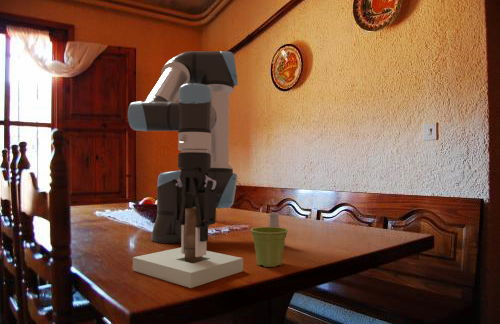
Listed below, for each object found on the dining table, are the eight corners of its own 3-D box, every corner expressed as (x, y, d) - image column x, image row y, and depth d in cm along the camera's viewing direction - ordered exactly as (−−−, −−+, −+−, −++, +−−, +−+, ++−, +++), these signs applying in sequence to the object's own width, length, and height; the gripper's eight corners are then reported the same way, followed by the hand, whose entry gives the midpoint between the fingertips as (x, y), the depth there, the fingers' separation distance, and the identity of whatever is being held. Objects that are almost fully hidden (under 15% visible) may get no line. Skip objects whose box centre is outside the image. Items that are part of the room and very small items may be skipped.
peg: (180, 261, 83) (181, 208, 83) (194, 258, 86) (194, 207, 87) (192, 264, 81) (193, 209, 81) (206, 260, 84) (206, 208, 84)
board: (132, 270, 85) (132, 257, 85) (185, 257, 97) (185, 246, 97) (190, 288, 72) (190, 272, 72) (242, 271, 85) (242, 258, 85)
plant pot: (248, 260, 95) (249, 226, 95) (284, 259, 96) (284, 226, 96) (252, 269, 86) (252, 232, 86) (291, 269, 87) (291, 232, 87)
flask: (284, 249, 109) (284, 215, 109) (260, 247, 110) (260, 214, 111) (287, 244, 116) (287, 212, 116) (264, 243, 118) (264, 212, 118)
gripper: (158, 152, 87) (157, 251, 86) (209, 150, 76) (208, 263, 75) (182, 153, 92) (181, 246, 92) (233, 151, 82) (232, 256, 81)
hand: (193, 253), depth 84 cm, fingers closed on peg, 4 cm apart
